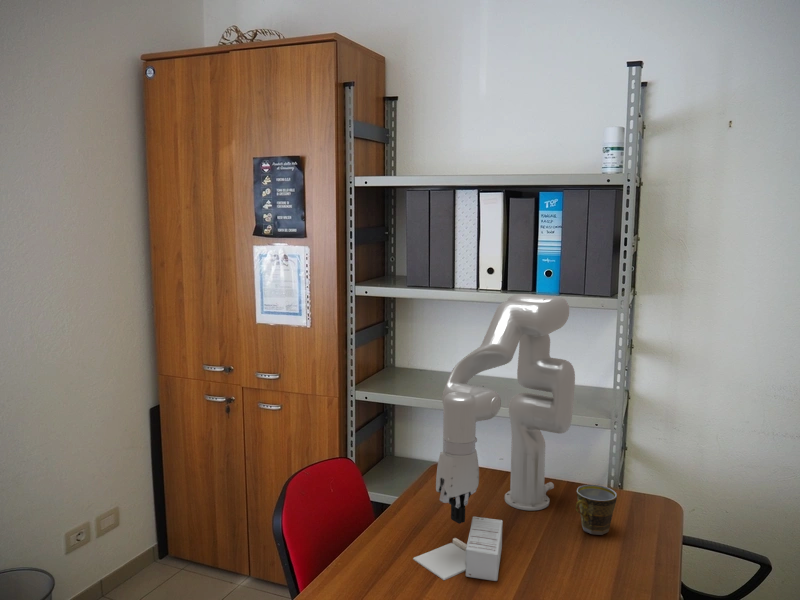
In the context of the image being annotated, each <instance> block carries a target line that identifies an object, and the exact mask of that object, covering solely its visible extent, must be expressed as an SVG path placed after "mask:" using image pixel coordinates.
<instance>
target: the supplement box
mask: <svg viewBox="0 0 800 600" xmlns="http://www.w3.org/2000/svg"><path fill="white" fill-rule="evenodd" d="M503 522H504V521H503V520H502V519H498V518H497V519H495V518H488V517H483V516H482V517H481V516H480V517H479V516H472V519H471V523H470V528H469V529H470V530H469V532H468V539H467V542H466V544H467V546H466V571H465V577H468V578H473V579H480V580H486V581H491V582H492V581H493V582H497V581H498V579H499V569H500V565H501V564H500V562H501V557H502V556H501V555H502V550H503V549H502V547H503Z"/></svg>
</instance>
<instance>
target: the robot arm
mask: <svg viewBox="0 0 800 600" xmlns="http://www.w3.org/2000/svg"><path fill="white" fill-rule="evenodd" d="M569 316H570V306H569V304H568V301H567V300H566V299H565V298H564V297H562V296H556V295H544V294H543V295H542V294H532V293H531V294H529V293H517V294H516V293H515V294H512V295H510V296H509V297H508V298H507V300H505V301H503V302H501V303H500V304H499V305H498V306H497V308H496V309H495V312H494V314H493V317H492V318H491V321H490V324H489V326H488V328H487V330H486V333H485V334H484V335H485V336H484V338H483V340H482V342H481V344H480V345H479V347H477V348H476V349H474V350H472V351H471V352H470V353H468V354H467V355H466V356H465V357H463V358H462V359H461V360H459V361H458V362H457V363H456V364H455V366H454V367H453V368H452V370H451V372H450V374H449V376H448V379H447V381H446V383H445V385H444V388H443V391H442V396H441V400H442V401H441V403H442V407H443V410H442V411H443V412H442V413H443V416H442V417H443V418H442V420H443V421H442V451H441V452H440V453H439V455H438V456H439V457H438V461H437V467H436V468H437V469H436V477H435V479H436V480H435V491H436V492H437V493H439V494H440V495H439V501H440V502H441V503H444V504H447V503H448V504H449V505H450V519H451V521H453V522H455V523H457V524H459V525H460V524H463V523H465V522H466V506H468V504H469V498H470V497H471V495H473V494H474V493H476V492H477V489H478V487H479V482H480V467H479V465H480V464H479V458H478V452H477V450H476V443H477V442H478V438H477V437H476V434H477V433H476V430H477V429H476V428H477V422H482V421H488V420H491V419H493V418H494V417H496V416H497V415H498V414H499V412H500V409H501V407H502V399H501V396H500V394H499V393H498V392H497V391H496V390H494V389H492V388H488V387H482V386H478V385H472V384H468V382H469V381H470V380H471V379H472V378H473V377H475V376H476V375H478V374H479V373H481V372H485V371H488V370H491V369H494V368H497V367H498V368H499V367H502V366H505V365H507V364H509V363H511V361H512V360H513V358H514V355H515V353H516V350H517V347H518V346H519V347H518V358H517V359H518V360H517V373H516V374H517V375H516V377H517V378H516V379H517V382H518V384H519V385H520V386H521V387H523V388H526V389H530V390H534V391H540V392H541V391H542V392H545V393H546V392H547V393H551V394H552V397H551V396H546V395H541V394H536V393H529V392H520V393H517V394H514V395H513V396H512V397H511V398H510V401H509V404H508V416H509V423H510V431H511V433H510V434H511V447H510V448H511V450H510V484H509V485H510V487H509V489H510V490H508V491H507V492H506V493H505V494H504V501H505V503H506V504H507V505H508V506H510V507H512V508H515V509H517V510H521V511H530V512H531V511H541V510H544V509H546V508H548V507H549V505H550V498H549V496H548V495H547V492H548V491H550V490H552V489H554V488H555V484H554V483H553V482H552V481H549V482H547V483H545V478H546V477H545V475H546V469H545V467H546V439H545V437H544V434H543V433H542V431H543V432H546V433H553V434H565V433H567V432H568V431H569V430H570V427H571V423H572V420H573V411H574V398H575V386H576V372H575V369H574V366H573V364H572V363H571V362H570V361H569V360H566V359H563V358H556V357H551V355H550V352H551V351H550V350H551V337H550V334H551V333H553V332H556V331H557V330H560V329H561V328H562V327H564V326H565V325H566V323H567V322H568V319H569V318H570V317H569Z"/></svg>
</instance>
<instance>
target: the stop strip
mask: <svg viewBox="0 0 800 600" xmlns="http://www.w3.org/2000/svg"><path fill="white" fill-rule="evenodd" d="M452 544H454V545H456V546H457V547H459V548H461V549H462V550H464V551H466V546H467V543H466V542H463V541H462V540H460V539H458V538H457V537H454V538H452Z"/></svg>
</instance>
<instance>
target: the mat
mask: <svg viewBox="0 0 800 600" xmlns="http://www.w3.org/2000/svg"><path fill="white" fill-rule="evenodd" d="M412 560H413V561H415V562H416V563H418V564H419V565H421V566H422V567H424V568H425V569H426V570H428V571H429V572H431V573H433V574H434V575H435V576H437V577H439V578H440V579H441V580H443V581H446V580H448V579H450V578H452V577H455V576H457V575H460V574H461V573H464V572H466V551H464V550H462V549H461V548H459V547H457V546H456V545H454V544H453V542H450V543H447V544H445V545H442V546H440V547H438V548H435V549H432V550H430V551H428V552H425V553H422V554H420V555H417V556H414V557H413V558H412Z"/></svg>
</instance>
